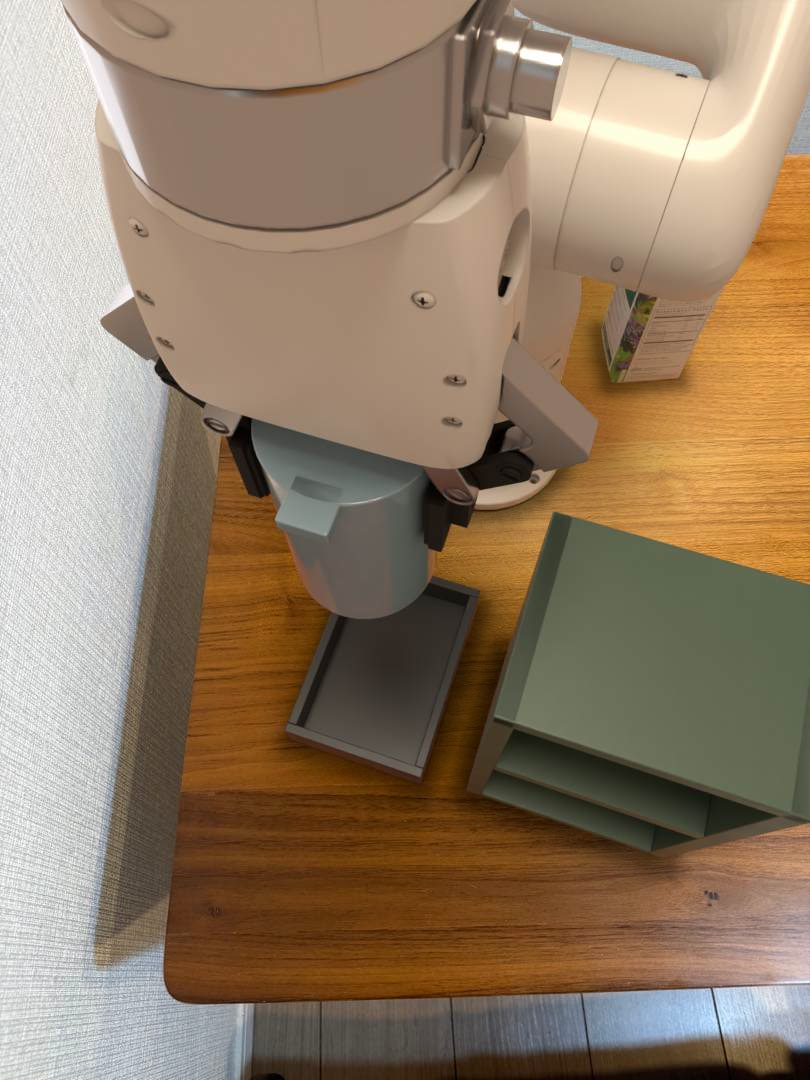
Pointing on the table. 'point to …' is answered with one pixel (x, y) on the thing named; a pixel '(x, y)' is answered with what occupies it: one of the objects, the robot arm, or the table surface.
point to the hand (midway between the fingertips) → (357, 489)
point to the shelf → (652, 695)
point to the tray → (386, 682)
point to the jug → (348, 520)
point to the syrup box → (651, 334)
